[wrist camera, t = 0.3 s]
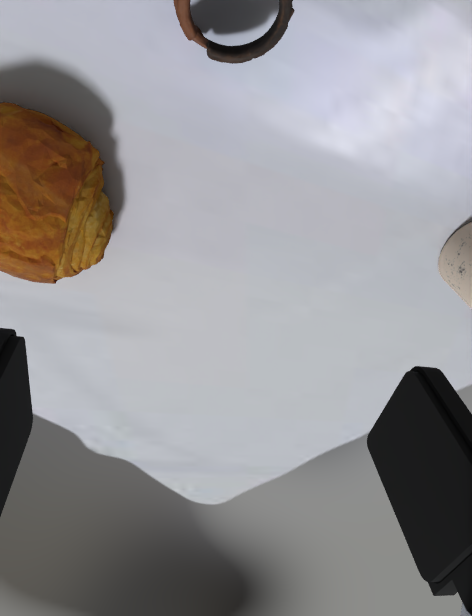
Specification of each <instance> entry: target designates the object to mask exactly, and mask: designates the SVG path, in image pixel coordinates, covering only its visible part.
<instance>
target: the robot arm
mask: <svg viewBox="0 0 472 616" xmlns="http://www.w3.org/2000/svg"><path fill="white" fill-rule="evenodd" d="M32 422H33V414H32V404H31V395H30V385H29V375H28V365H27V355H26V346H25V339H24V337H19V336H16V332H15V330H13V329H4V328H0V516H1V513H2V510H3V508H4V505H5V502H6V499H7V496H8V494H9V491H10V488H11V485H12V482H13V480H14V477H15V474H16V471H17V468H18V465H19V463H20V460H21V457H22V454H23V452H24V449H25V446H26V443H27V441H28V438H29V435H30V432H31V428H32ZM367 446H368V449H369V452H370V454H371V456H372V459H373V461H374V464H375V466H376V469H377V471H378V474H379V476H380V478H381V481H382V483H383V486H384V488H385V490H386V493H387V495H388V497H389V500H390V502H391V505H392V507H393V510H394V512H395V515H396V517H397V519H398V522H399V524H400V527H401V529H402V531H403V534H404V536H405V539H406V541H407V544H408V546H409V548H410V551H411V553H412V556H413V558H414V561H415V563H416V565H417V568H418V570H419V572H420V574H421V576H422V578H423V579H424V580H425V581H427V582H428V583H429V586H430V588H431V591H432V593H433V595H434V596H442V595H443V596H444V595H455V594H456V593H457V592H458V593H459V595H460V598H461V600H462V602H463V603H462V609H461V615H460V616H472V414H471V413H470V411H469V410H468V409H467V407H466V405H465V404H464V403H463V401H462V400H461V398H460V397H459V395H458V394H457V393H456V391H455V390H454V388H453V387H452V385H451V384H450V383H449V381H448V380H447V378H446V377H445V375H444V374H443V373H442V372H441V370H440V369H437V368H431V367H420V366H415V367H414V368H412V369H411V370H410V371H408V372H406V374H405V375H404V377H403V378H402V380H401V381H400V383H399V385H398V386H397V388H396V390H395V391H394V393H393V395H392V396H391V398H390V400H389V401H388V403H387V405H386V406H385V408H384V410H383V411H382V413H381V415H380V416H379V418H378V420H377V421H376V423H375V424H374V426H373V428H372V429H371V431H370V433H369V435H368V438H367Z"/></svg>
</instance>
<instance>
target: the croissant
mask: <svg viewBox="0 0 472 616" xmlns="http://www.w3.org/2000/svg"><path fill="white" fill-rule="evenodd" d="M99 156H100V153H99V151H98V150H97V149H95V148H94V147H93V146H92V145H91V143H90V141H89V142H87V141H85V140H84V139H83V138H82V137H81V136H80V135H78V134H77V133H75V132H74V131H73V130H71V129H70V128H68V127H67V126H65V125H63V124H62V123H60V122H58V121H57V120H55V119H53V118H51V117H49V116H47V115H45V114H43V113H40V112H37V111H33V110H30V109H24V108H22V107H20V106H18V105H16V104H12V103H5V102H3V103H0V271H2V272H5V273H7V274H10V275H12V276H14V277H18V278H21V279H25V280H28V281H32V282H40V283H53V284H54V283H56V281H57V280H59V279H61V278H63V277H72V276H75V275H77V274H79V273H80V272H81V271H82V270H83V269H85V270H86V269H88V268H90V267H91V266H92V265H95V264H97V263H98V262H99V261H101V259H103V257H104V250H105V248H106V247H107V245H108V243H109V240H110V237H111V232H112V229H113V225H112V220H113V215H114V213H113V211H112V210H111V209H110V206H109V200H108V197H107V196H106V195H105V194H104V193H103V192H102V191H101V190H102V188H103V186H104V180H103V175H102V170H103V168H102V165H103V164H104V163H105V162H103V161H102V160H101V159H100V158H99Z"/></svg>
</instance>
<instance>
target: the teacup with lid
mask: <svg viewBox="0 0 472 616" xmlns="http://www.w3.org/2000/svg"><path fill="white" fill-rule="evenodd" d="M438 267H439V272H440V275H441V277H442V278H443V280H444V281H445V282H446V283H447V284H448V285H449V286H450V287H451V288H452V289H453V290H454V291H455V292H456V293H457V294H458V295H459V297H460V298H461V299H462V300H463V301H464V302H465V303H466V304H467V305H468V306H469V307H470V308H471V309H472V222H470V223H468V224H467V225H465V226H463V227H462V228H460V229H459V230H458V231H457V232H455V233H454V234H453V235H452V236H451V237H450V239H449V240H448V241H447V242H446V244H445V245H444V247H443V249H442V251H441V254H440V257H439V262H438Z"/></svg>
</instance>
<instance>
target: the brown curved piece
mask: <svg viewBox="0 0 472 616" xmlns="http://www.w3.org/2000/svg"><path fill="white" fill-rule="evenodd" d="M292 1H293V0H279V12H278V15H277V17H276V20H275V21H274V23H273V25H272V26H271V28H270V29H269V30H268V31H267V32H266V33H265V34H264V35H263V36H262V37H260V38H259V39H257V40H255V41H253V42H250V43H248V44H244V45H240V46H225V45H220V44H217V43H214V42H212V41H210V40H208V39H207V38H205V37H204V36H203V34H202V32H201V30H200V29H199V28H198V27H197V26H196V25H195V24H194V22H193V19H192V16H191V12H190V0H174V6H175V10H176V15H177V17H178V20H179V22H180V26H181V28H182V30H183V32H184V34H185V35H186V37H187V38H188V40H193V41H195V42H196V43H198V44H199V45H201V46H202V47H204V48H206V49H207V55H208V57H209V58H210V59H212V60H216V61H219V62H226V63H243V62H246V61H250V60H252V59H253V58H258V57H259V56H262V55H264V54H265V53H266V52H267V51H269V50H270V49H272V48H273V47H274V46H275V45H276V44H277V43H278V41H279V40H280V39H281V37H282V36H283V34H284V32H285V31H286V29H287V27H288V22H289V20H290V18H291V16H292V15H293V13H294V9H293V8H292Z"/></svg>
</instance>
